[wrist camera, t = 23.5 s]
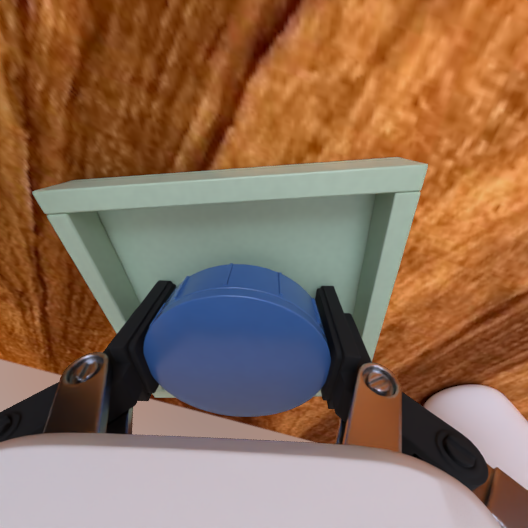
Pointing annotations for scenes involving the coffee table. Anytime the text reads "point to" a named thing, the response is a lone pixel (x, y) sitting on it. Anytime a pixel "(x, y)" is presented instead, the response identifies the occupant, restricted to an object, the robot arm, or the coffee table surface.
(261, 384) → the lid
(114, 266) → the tray
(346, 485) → the robot arm
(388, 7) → the coffee table surface
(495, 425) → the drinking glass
